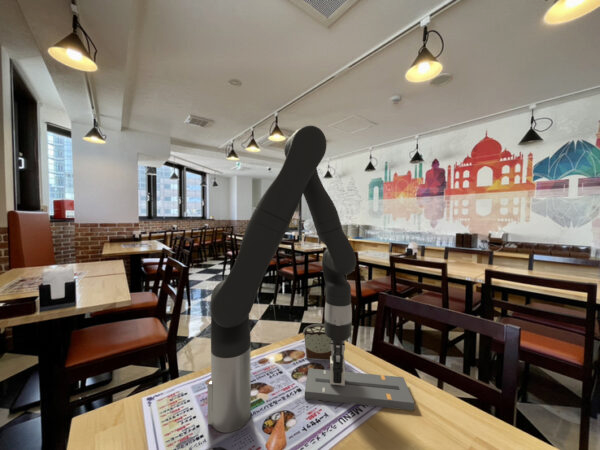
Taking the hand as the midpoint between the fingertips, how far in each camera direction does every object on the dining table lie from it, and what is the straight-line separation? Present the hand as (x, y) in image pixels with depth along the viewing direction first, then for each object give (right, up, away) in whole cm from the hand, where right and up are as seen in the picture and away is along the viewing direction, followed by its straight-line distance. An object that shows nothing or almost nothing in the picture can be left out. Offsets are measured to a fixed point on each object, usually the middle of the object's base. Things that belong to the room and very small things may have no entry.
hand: (337, 377), depth 69 cm
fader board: (+5, -3, -1) cm, 6 cm away
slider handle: (0, -1, 0) cm, 1 cm away
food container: (-3, -3, +17) cm, 18 cm away
